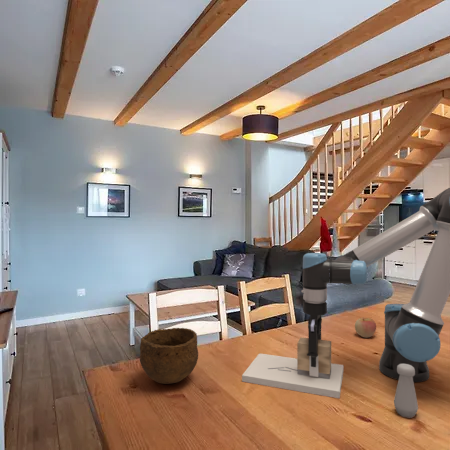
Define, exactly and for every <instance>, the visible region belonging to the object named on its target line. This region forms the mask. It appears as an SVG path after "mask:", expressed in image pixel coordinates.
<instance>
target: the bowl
mask: <svg viewBox="0 0 450 450" xmlns="http://www.w3.org/2000/svg"><path fill="white" fill-rule="evenodd" d="M139 351H140V352H139V353H140V354H139V362H140V366H141V368H142V369H143V371H144V373H145V375H146V376H148V378H150V379H151V380H152V381H154V382H156V383H158V384H165V385H167V384H175V383H179V382H181V381H183V380H184V379H185V378H186V377H188V376H189V375H190V374H192V372H193V371H194V369H195V367H196V365H197V364H198V359H199V349H198V335H197V333H196V332H195V330H192V329H191V328H188V327H186V328H185V327H172V328H167V329H166V328H163V329H162V328H161V329H154V330H151V331H149V332H148V333H147V334H145V335H144V336H141V338H140V345H139Z"/></svg>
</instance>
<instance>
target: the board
mask: <svg viewBox="0 0 450 450" xmlns="http://www.w3.org/2000/svg"><path fill="white" fill-rule="evenodd" d="M344 370H345V369H344V364H339V363H332V362H331V375H330V379H326V378H320V377H314V376H308V375H302V374H297V357H296V358H295V357H288V356H281V355H275V354H274V355H273V354H268V353H267V354H266V353H258V354H257V355H256V357H255V358H254V359H253V361H252V362H251V363H250V364H249V366H248V367H247V368H246V370H245V371H244V372H243V373H242V375H241V382H244V383H249V384H255V385H261V386H265V387H272V388H277V389H282V390H283V389H284V390H289V391H294V392H300V393H306V394H311V395H312V394H313V395H317V396H324V397H329V398H330V397H331V398H334V399H340V397H341V392H342V391H341V390H342V385H343V383H342V382H343V377H344V376H343V375H344V372H345V371H344Z"/></svg>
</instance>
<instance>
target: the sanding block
mask: <svg viewBox="0 0 450 450" xmlns="http://www.w3.org/2000/svg"><path fill="white" fill-rule="evenodd" d="M296 346H297V350H296V351H297V357H296V359H297V374H302V375H308V376H310V373H309V356H307V354H308V337H300V338H299V339H298V341H297V345H296ZM331 363H332V340H326V339H324V340H323V339H321V340H318V371H319V376H318V377H320V378H326V379H330V375H331ZM314 377H315V376H314Z"/></svg>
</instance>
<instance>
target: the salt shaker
mask: <svg viewBox="0 0 450 450" xmlns="http://www.w3.org/2000/svg"><path fill="white" fill-rule="evenodd" d="M397 372H398V374H400V376H399V380H398V382H397V385H396V390H395V395H394V399H393V404H394V405H393V406H394V408H395V410H396V412H397V414H398V415H399V416H401V417H402V418H403V417H404V418H408V419H411V418H413V417H415V416H416V414H417V413H418V410H419V404H418V399H417V392H416V389H415V382H413V376H414V375H415V369H414V367H413V366H411V365H409V364H399V365H398V366H397Z"/></svg>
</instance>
